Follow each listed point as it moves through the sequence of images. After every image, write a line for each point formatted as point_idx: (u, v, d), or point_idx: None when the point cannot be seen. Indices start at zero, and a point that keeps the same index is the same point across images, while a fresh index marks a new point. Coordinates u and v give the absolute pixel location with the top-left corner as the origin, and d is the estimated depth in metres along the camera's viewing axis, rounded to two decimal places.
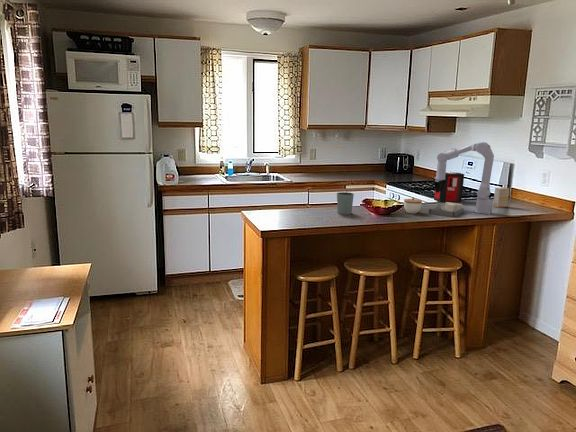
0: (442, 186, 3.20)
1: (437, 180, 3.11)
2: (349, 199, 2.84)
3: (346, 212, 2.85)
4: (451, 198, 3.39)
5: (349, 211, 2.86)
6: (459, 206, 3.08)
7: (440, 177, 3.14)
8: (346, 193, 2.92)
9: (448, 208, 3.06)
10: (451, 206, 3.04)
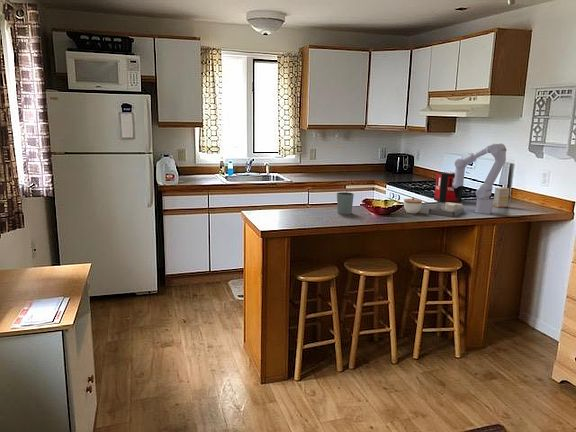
0: None
1: (455, 186, 3.09)
2: (349, 199, 2.84)
3: (346, 212, 2.85)
4: (451, 198, 3.39)
5: (349, 211, 2.86)
6: (459, 206, 3.08)
7: (458, 183, 3.12)
8: (346, 193, 2.92)
9: (448, 208, 3.06)
10: (451, 206, 3.04)
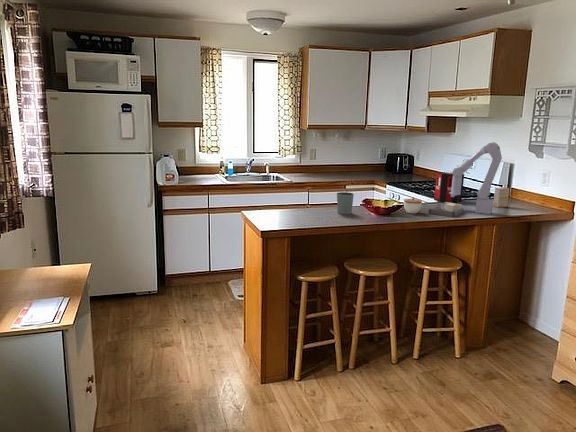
0: None
1: (452, 195, 3.06)
2: (349, 199, 2.84)
3: (346, 212, 2.85)
4: None
5: (349, 211, 2.86)
6: (459, 206, 3.07)
7: (455, 192, 3.09)
8: (346, 193, 2.92)
9: (448, 208, 3.05)
10: (451, 206, 3.03)
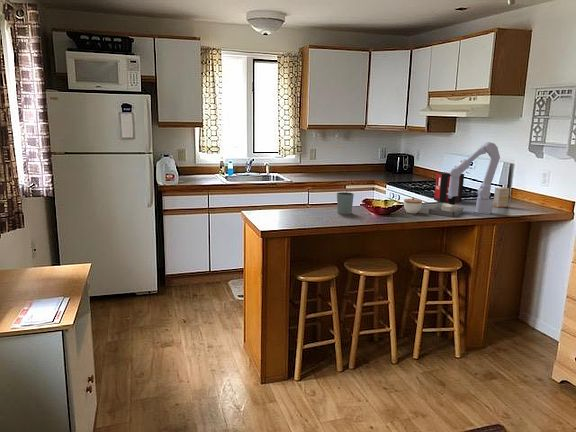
0: None
1: (450, 197, 3.01)
2: (349, 199, 2.84)
3: (346, 212, 2.85)
4: None
5: (349, 211, 2.86)
6: (456, 208, 3.02)
7: (453, 193, 3.04)
8: (346, 193, 2.92)
9: (445, 210, 3.00)
10: (448, 208, 2.98)
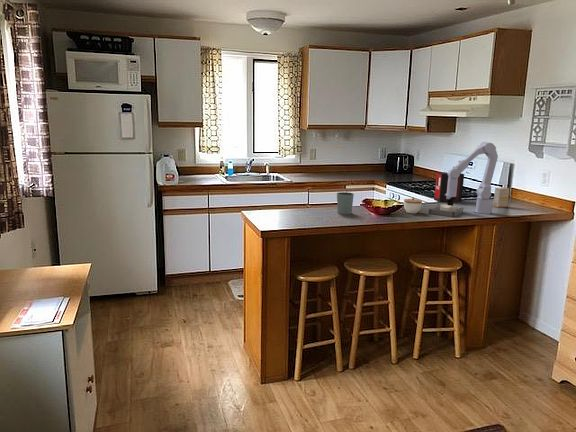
0: None
1: (448, 197, 2.98)
2: (349, 199, 2.84)
3: (346, 212, 2.85)
4: None
5: (349, 211, 2.86)
6: (454, 208, 2.99)
7: (451, 194, 3.01)
8: (346, 193, 2.92)
9: None
10: (446, 208, 2.95)
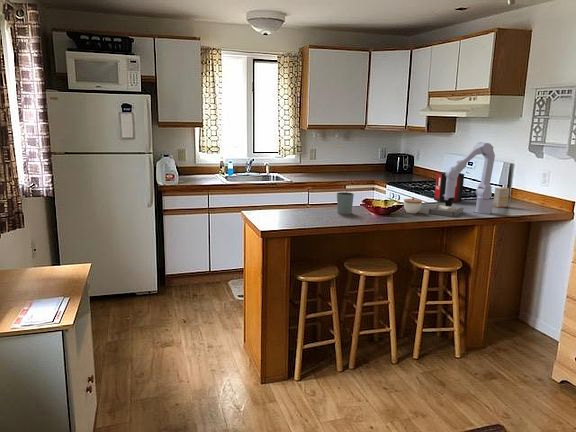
0: None
1: (446, 198, 2.95)
2: (349, 199, 2.84)
3: (346, 212, 2.85)
4: None
5: (349, 211, 2.86)
6: (453, 209, 2.96)
7: (449, 195, 2.98)
8: (346, 193, 2.92)
9: None
10: (444, 209, 2.92)
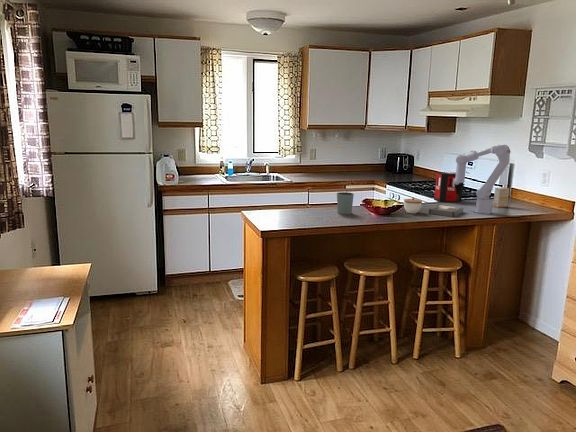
0: None
1: (457, 183, 3.06)
2: (349, 199, 2.84)
3: (346, 212, 2.85)
4: (451, 198, 3.39)
5: (349, 211, 2.86)
6: (453, 209, 2.96)
7: (459, 180, 3.09)
8: (346, 193, 2.92)
9: None
10: (444, 209, 2.92)
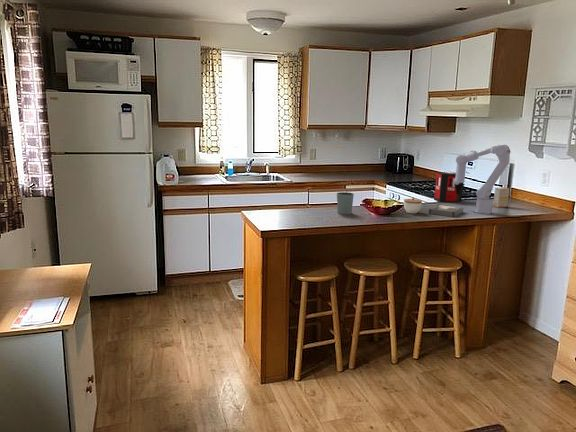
0: None
1: (457, 183, 3.06)
2: (349, 199, 2.84)
3: (346, 212, 2.85)
4: (451, 198, 3.39)
5: (349, 211, 2.86)
6: (453, 209, 2.96)
7: (459, 180, 3.09)
8: (346, 193, 2.92)
9: None
10: (444, 209, 2.92)
